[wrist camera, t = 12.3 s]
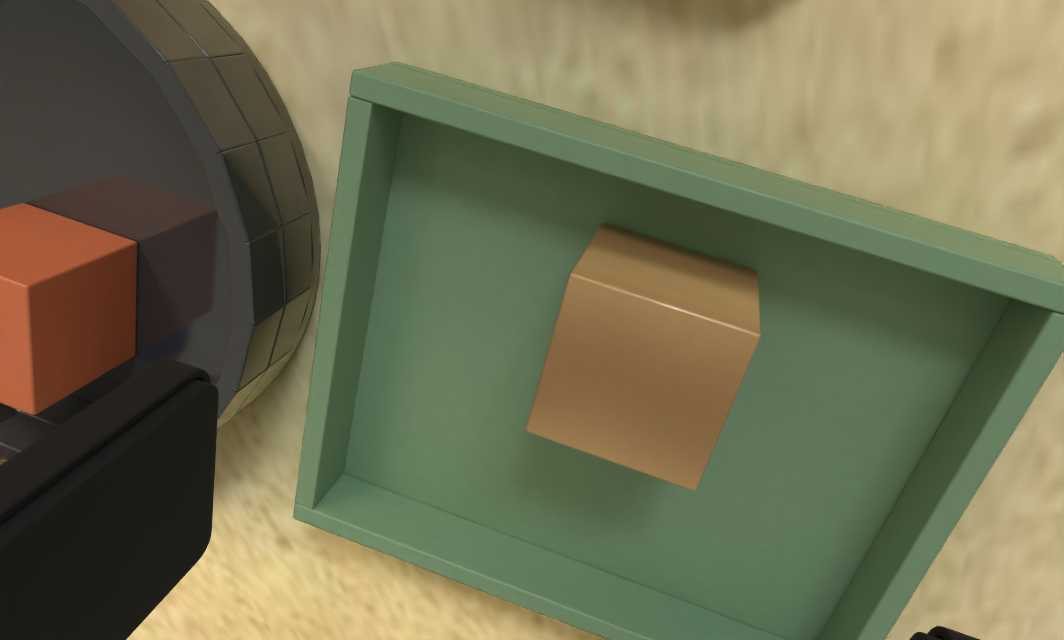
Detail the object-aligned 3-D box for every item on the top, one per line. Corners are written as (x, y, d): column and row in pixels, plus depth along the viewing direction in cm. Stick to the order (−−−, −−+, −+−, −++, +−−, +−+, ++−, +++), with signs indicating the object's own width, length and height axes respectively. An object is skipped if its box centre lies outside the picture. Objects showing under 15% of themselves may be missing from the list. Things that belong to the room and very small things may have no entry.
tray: (396, 60, 20) (350, 69, 17) (1054, 256, 17) (1100, 295, 15) (332, 472, 25) (291, 519, 23) (823, 656, 23) (832, 727, 21)
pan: (-154, -142, 21) (-310, -165, 18) (357, 6, 19) (282, 9, 16) (-92, 337, 28) (-198, 380, 25) (294, 483, 26) (232, 550, 23)
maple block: (602, 221, 19) (569, 272, 16) (759, 270, 19) (762, 335, 15) (561, 357, 21) (523, 432, 17) (704, 406, 20) (695, 493, 17)
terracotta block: (23, 201, 24) (-107, 238, 20) (138, 241, 23) (26, 286, 19) (29, 316, 25) (-89, 369, 22) (136, 355, 25) (33, 416, 21)
